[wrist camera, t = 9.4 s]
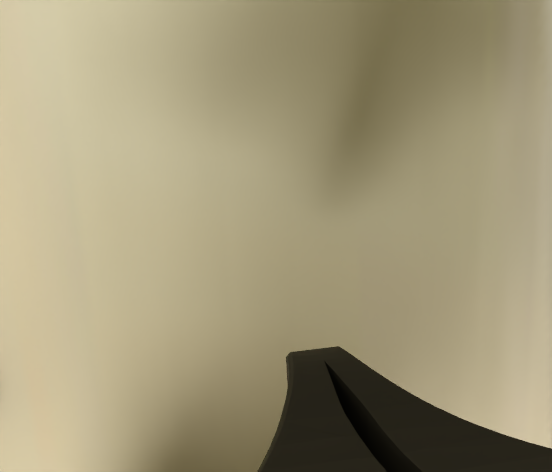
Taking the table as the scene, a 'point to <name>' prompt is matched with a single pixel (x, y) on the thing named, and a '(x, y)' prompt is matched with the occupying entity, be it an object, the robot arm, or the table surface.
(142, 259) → the table surface
